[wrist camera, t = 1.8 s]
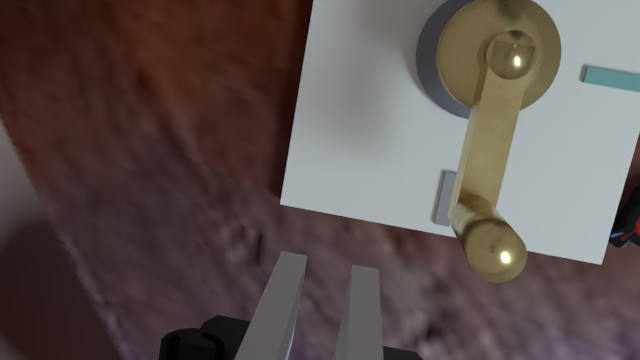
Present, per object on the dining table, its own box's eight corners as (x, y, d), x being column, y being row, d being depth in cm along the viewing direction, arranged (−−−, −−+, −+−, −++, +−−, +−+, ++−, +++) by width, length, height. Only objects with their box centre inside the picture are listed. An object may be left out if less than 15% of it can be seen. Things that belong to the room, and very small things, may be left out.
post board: (343, -170, 37) (340, -204, 32) (699, -112, 36) (751, -138, 31) (282, 200, 42) (271, 218, 37) (594, 258, 41) (625, 285, 36)
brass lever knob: (448, -12, 34) (486, -44, 23) (562, 7, 33) (652, -16, 23) (402, 207, 36) (417, 268, 26) (508, 227, 36) (566, 296, 26)
